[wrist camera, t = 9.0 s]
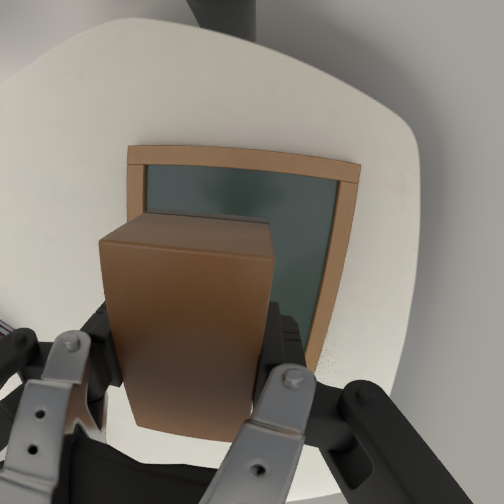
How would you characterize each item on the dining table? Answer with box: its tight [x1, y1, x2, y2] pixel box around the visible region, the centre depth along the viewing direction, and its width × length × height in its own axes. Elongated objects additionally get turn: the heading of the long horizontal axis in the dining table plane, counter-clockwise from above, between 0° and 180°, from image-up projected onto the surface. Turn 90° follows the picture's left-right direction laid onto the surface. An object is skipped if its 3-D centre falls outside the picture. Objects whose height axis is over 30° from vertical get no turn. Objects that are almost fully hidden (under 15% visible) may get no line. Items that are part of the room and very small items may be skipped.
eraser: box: [99, 208, 275, 443], centre depth 10 cm, size 8×4×4 cm, turn 174°
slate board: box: [127, 145, 361, 373], centre depth 25 cm, size 24×19×2 cm
